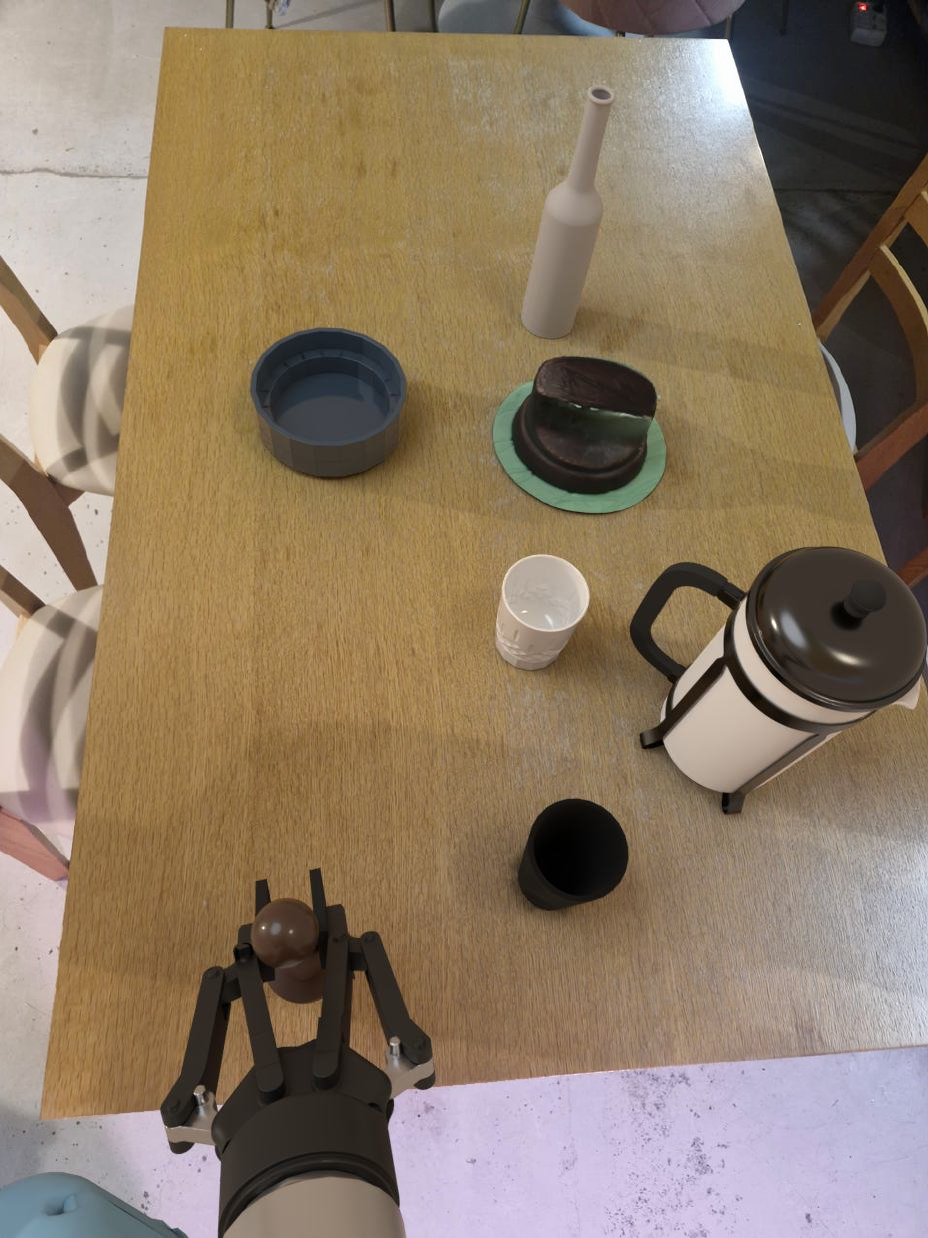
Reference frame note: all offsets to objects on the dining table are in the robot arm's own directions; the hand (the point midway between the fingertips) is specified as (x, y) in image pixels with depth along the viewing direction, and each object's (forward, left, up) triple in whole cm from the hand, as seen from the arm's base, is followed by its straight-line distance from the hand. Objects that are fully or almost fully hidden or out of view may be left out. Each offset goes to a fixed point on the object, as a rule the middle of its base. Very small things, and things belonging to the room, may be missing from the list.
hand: (291, 891), depth 57 cm
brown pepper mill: (+1, -4, -6) cm, 7 cm away
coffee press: (+37, +16, -16) cm, 43 cm away
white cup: (+21, +26, -16) cm, 37 cm away
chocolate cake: (+29, +51, -16) cm, 61 cm away
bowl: (+1, +53, -16) cm, 55 cm away
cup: (+21, +3, -16) cm, 26 cm away
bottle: (+27, +70, -16) cm, 77 cm away
